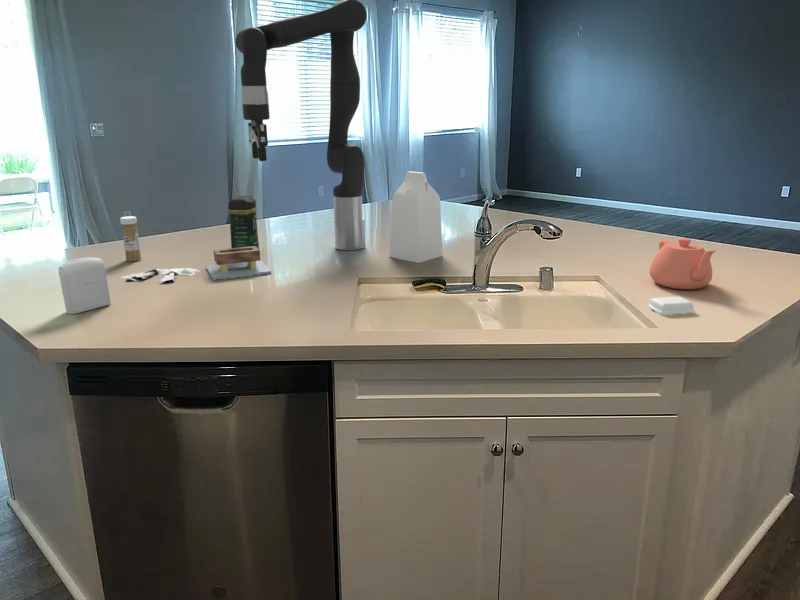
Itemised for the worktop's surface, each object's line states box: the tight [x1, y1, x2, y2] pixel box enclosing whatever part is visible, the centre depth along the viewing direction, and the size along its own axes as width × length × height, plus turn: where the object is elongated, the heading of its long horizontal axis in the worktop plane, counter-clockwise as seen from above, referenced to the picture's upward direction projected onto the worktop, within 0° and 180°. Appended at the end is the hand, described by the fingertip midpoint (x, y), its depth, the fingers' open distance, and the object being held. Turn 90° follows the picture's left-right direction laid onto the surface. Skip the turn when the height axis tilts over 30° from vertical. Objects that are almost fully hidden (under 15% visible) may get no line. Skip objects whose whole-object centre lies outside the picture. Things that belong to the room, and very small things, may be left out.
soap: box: [647, 296, 696, 316], centre depth 150 cm, size 9×7×3 cm
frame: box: [213, 246, 261, 265], centre depth 184 cm, size 12×6×3 cm, turn 114°
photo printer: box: [58, 256, 111, 315], centre depth 152 cm, size 10×4×12 cm, turn 140°
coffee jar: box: [227, 195, 260, 250], centre depth 201 cm, size 10×8×19 cm
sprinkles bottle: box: [119, 215, 142, 263], centre depth 196 cm, size 5×5×13 cm
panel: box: [206, 259, 272, 281], centre depth 185 cm, size 16×14×3 cm
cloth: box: [119, 267, 200, 285], centre depth 179 cm, size 20×22×2 cm
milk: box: [389, 171, 443, 264], centre depth 197 cm, size 12×12×26 cm
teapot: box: [648, 237, 716, 290], centre depth 168 cm, size 22×15×12 cm
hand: (259, 159), depth 191 cm, fingers open, 8 cm apart
